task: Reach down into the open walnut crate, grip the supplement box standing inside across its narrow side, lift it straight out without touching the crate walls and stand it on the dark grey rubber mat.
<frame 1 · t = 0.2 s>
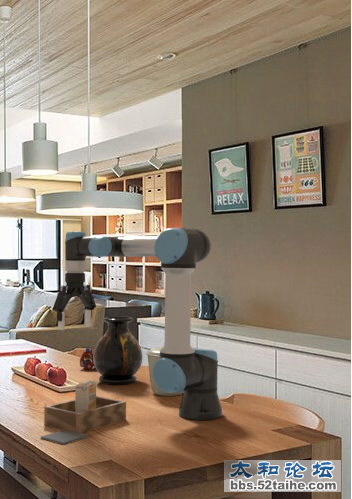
hand: (74, 328, 246), 28 cm above the table, tool pointing down, fingers open, 13 cm apart
canister: (168, 394, 262), on the table
toy fire truck: (92, 369, 316), on the table
crate: (85, 422, 217), on the table
amphora vase: (117, 382, 285), on the table
supplement box: (85, 423, 217), resting in crate
mat: (64, 437, 198), on the table
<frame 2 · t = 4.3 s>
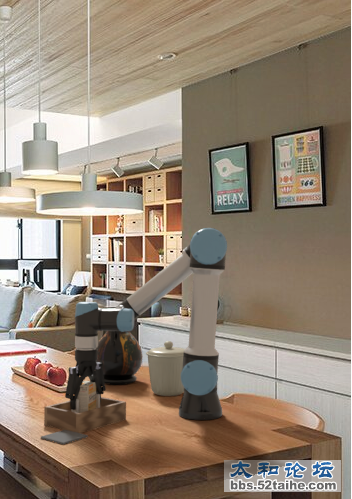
hand: (85, 416, 217), 2 cm above the table, tool pointing down, fingers closed on supplement box, 9 cm apart
supplement box: (85, 422, 217), resting in crate, touching gripper
everything else where it was.
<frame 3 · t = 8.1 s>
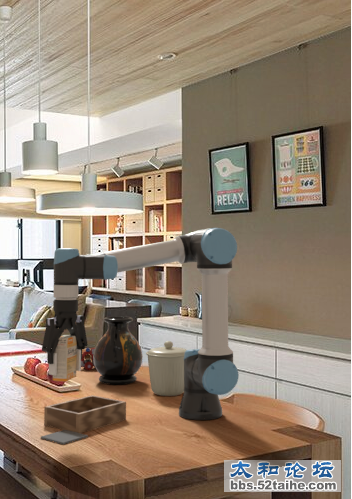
hand: (65, 372, 199), 20 cm above the table, tool pointing down, fingers closed on supplement box, 9 cm apart
supplement box: (64, 379, 199), point 18 cm above the table, touching gripper
everything else where it was.
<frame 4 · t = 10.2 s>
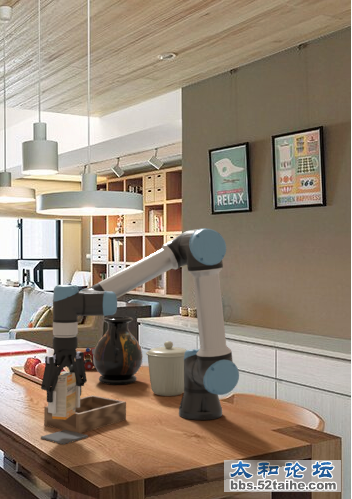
hand: (64, 409, 198), 9 cm above the table, tool pointing down, fingers closed on supplement box, 9 cm apart
supplement box: (64, 417, 198), point 6 cm above the table, touching gripper
everything else where it was.
when the fingers open (4 cm above the table, at t = 12.1 s): supplement box stays where it is, resting on mat.
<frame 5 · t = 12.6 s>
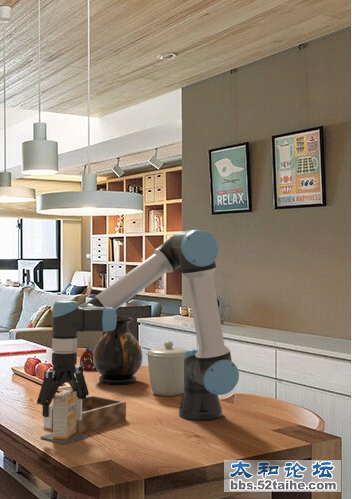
hand: (63, 423, 198), 4 cm above the table, tool pointing down, fingers open, 12 cm apart
supplement box: (65, 436, 198), resting on mat
everything else where it was.
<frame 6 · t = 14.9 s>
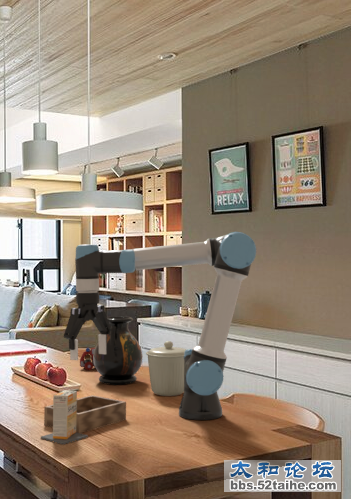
hand: (88, 356, 213), 22 cm above the table, tool pointing down, fingers open, 13 cm apart
nothing on the table moved.
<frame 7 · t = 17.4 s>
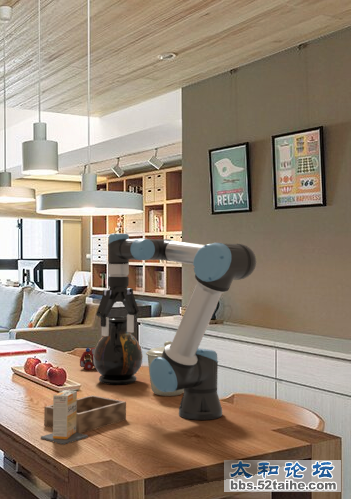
hand: (117, 334, 238), 27 cm above the table, tool pointing down, fingers open, 13 cm apart
nothing on the table moved.
at the end: supplement box inside the target area on the mat (0.3 cm from its centre), point 0.4 cm above the mat's base; supplement box tilted 0°; the gripper is holding nothing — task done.
